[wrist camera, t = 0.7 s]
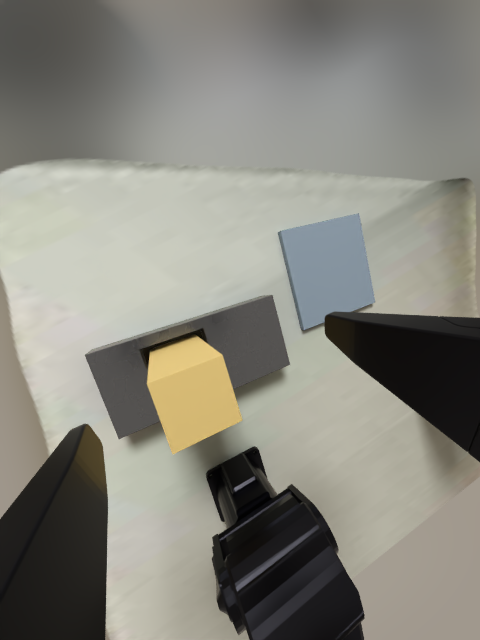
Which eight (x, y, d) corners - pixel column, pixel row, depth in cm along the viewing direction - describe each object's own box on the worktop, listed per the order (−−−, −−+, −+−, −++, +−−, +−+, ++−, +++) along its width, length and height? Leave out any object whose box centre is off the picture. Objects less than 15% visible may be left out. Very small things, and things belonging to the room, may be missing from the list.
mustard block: (207, 373, 26) (242, 420, 15) (164, 390, 24) (172, 454, 14) (194, 333, 25) (222, 355, 15) (150, 349, 24) (146, 383, 13)
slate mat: (371, 302, 33) (375, 302, 33) (301, 329, 29) (304, 330, 29) (355, 214, 31) (359, 213, 31) (278, 232, 27) (280, 230, 27)
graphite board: (278, 359, 29) (290, 364, 26) (122, 425, 23) (119, 439, 21) (262, 295, 27) (272, 295, 25) (92, 349, 22) (84, 354, 19)
